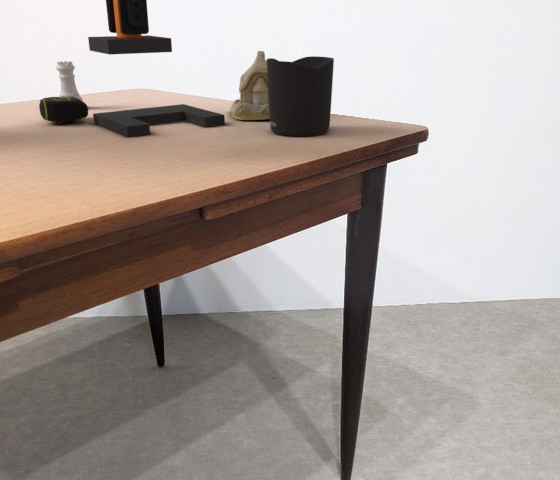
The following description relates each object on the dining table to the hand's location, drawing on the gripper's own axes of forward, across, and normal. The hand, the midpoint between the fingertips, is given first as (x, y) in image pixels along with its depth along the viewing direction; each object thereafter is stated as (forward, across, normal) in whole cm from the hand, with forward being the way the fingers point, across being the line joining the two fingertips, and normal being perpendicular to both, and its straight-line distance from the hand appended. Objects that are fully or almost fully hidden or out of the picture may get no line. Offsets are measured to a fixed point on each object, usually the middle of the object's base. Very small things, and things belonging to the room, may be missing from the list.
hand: (128, 31), depth 70 cm
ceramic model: (+14, -16, +29) cm, 36 cm away
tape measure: (+15, -30, 0) cm, 33 cm away
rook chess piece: (+15, -43, +5) cm, 46 cm away
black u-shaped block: (+14, -18, +11) cm, 26 cm away
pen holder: (+14, 0, +25) cm, 29 cm away
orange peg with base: (+2, 0, 0) cm, 2 cm away
